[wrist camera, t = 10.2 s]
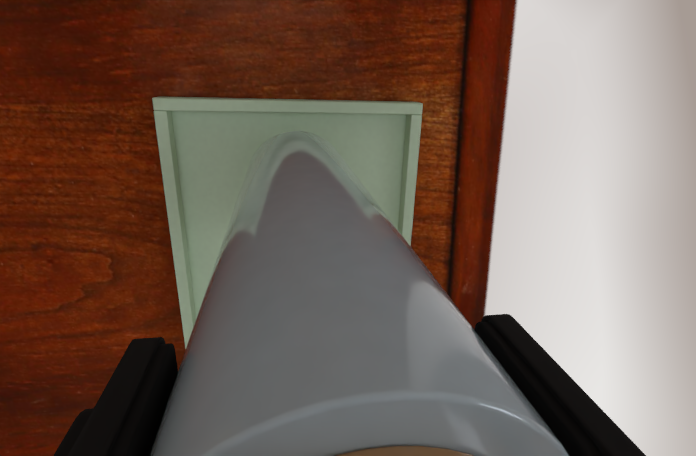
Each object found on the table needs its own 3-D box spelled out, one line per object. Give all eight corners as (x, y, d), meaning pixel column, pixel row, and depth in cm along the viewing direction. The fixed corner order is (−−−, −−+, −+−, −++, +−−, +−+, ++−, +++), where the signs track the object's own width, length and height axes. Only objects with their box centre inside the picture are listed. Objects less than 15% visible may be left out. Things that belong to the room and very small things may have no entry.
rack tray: (158, 96, 27) (151, 97, 26) (416, 101, 30) (423, 103, 28) (200, 418, 37) (196, 433, 35) (391, 400, 40) (395, 412, 38)
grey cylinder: (282, 109, 25) (309, 366, 3) (366, 168, 27) (744, 575, 5) (227, 194, 26) (-48, 821, 4) (310, 245, 29) (419, 833, 6)
